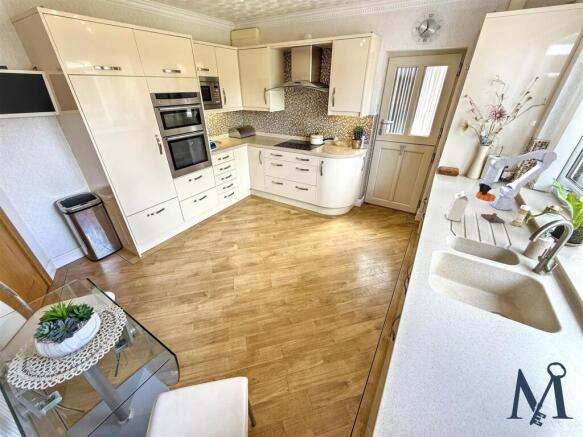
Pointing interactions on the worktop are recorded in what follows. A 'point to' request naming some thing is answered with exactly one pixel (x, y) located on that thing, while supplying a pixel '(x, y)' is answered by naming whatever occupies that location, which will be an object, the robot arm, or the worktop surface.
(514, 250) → the worktop surface
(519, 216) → the sprinkles bottle
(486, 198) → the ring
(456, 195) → the milk carton
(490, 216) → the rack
